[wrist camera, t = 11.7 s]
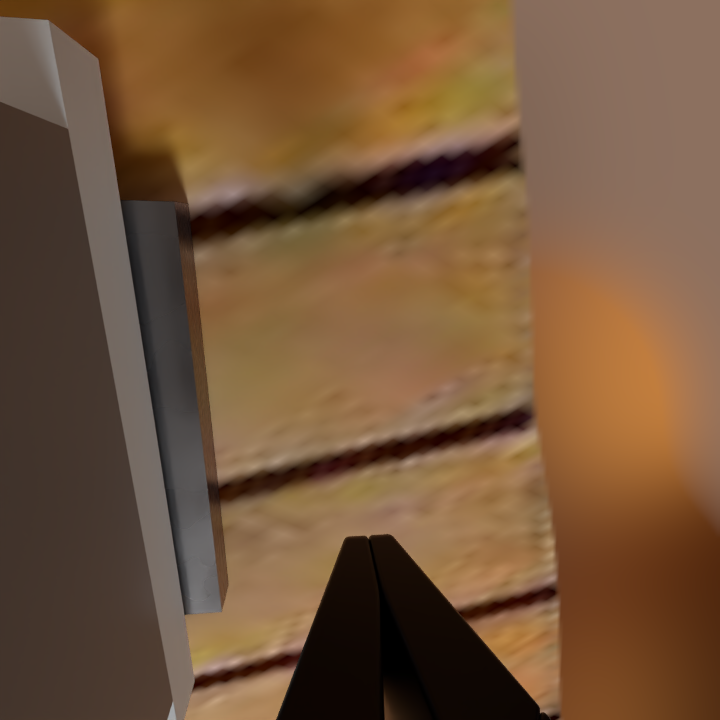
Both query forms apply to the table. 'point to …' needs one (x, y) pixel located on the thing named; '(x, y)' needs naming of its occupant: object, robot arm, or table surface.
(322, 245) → the table surface
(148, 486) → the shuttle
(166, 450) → the press frame
